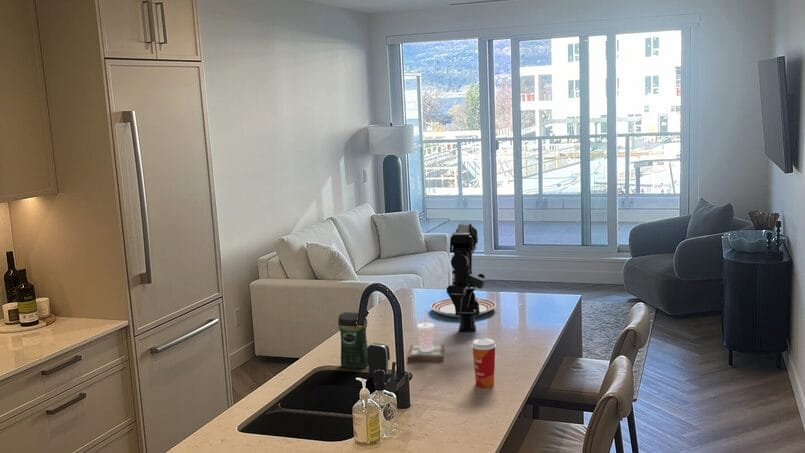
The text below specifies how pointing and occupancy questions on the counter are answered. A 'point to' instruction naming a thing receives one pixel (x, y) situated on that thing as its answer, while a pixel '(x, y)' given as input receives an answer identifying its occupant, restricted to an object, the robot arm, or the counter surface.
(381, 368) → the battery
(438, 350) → the plinth
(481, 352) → the paper cup
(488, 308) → the dinner plate
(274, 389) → the counter surface
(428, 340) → the beverage cup
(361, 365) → the coffee jar
